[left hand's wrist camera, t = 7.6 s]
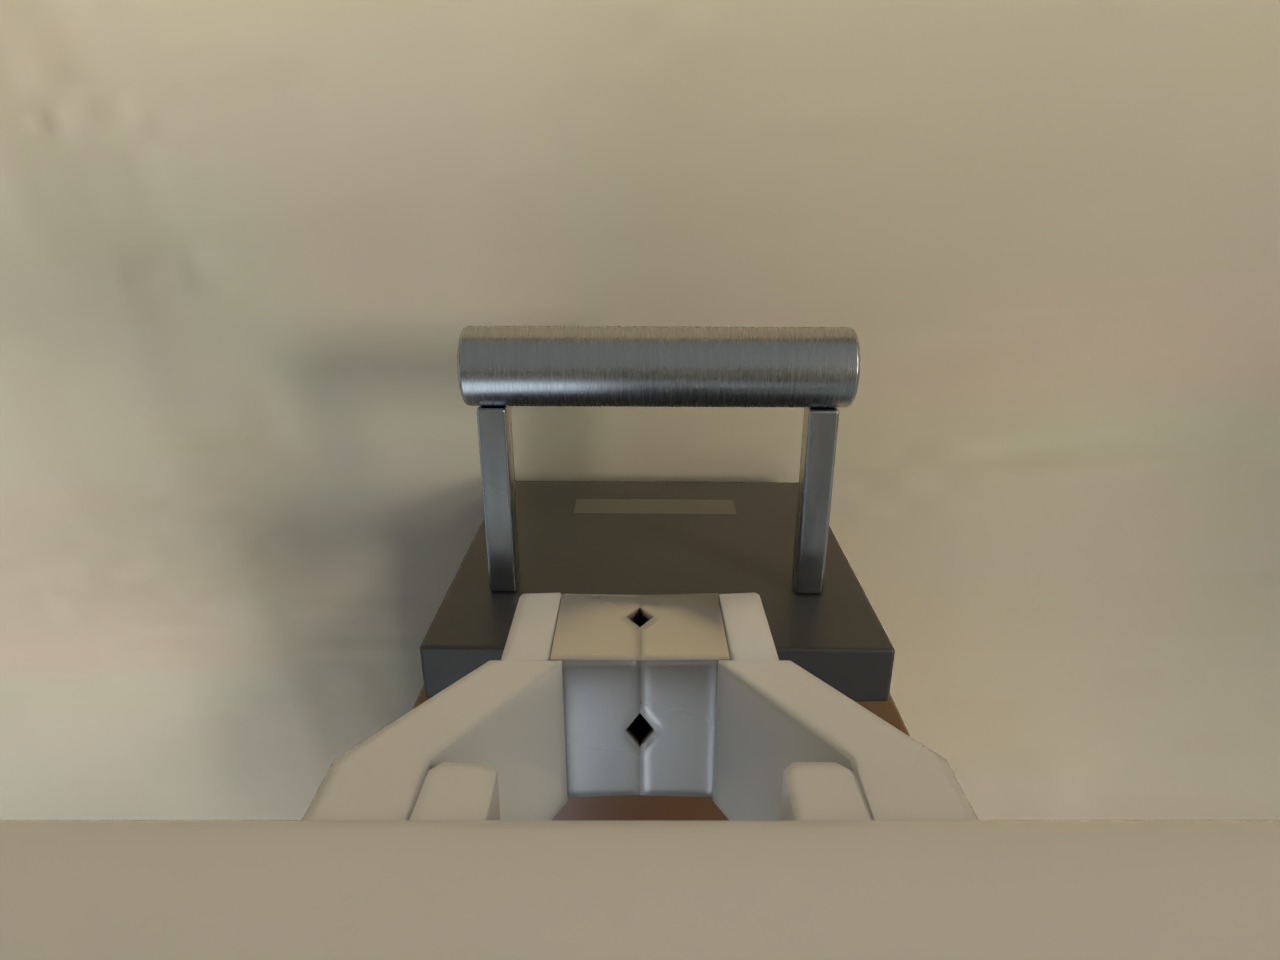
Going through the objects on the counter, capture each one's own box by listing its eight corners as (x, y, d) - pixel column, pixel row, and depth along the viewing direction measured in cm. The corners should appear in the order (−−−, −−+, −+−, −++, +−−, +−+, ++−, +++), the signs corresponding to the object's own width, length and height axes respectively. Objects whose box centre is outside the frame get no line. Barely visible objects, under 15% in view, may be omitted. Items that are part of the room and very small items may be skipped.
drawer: (490, 285, 22) (385, 350, 13) (822, 286, 22) (935, 352, 13) (533, 966, 31) (487, 1267, 22) (768, 969, 31) (813, 1272, 22)
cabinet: (492, 529, 25) (381, 772, 15) (815, 531, 25) (932, 777, 15) (525, 1004, 33) (467, 1388, 22) (774, 1007, 33) (833, 1394, 22)
